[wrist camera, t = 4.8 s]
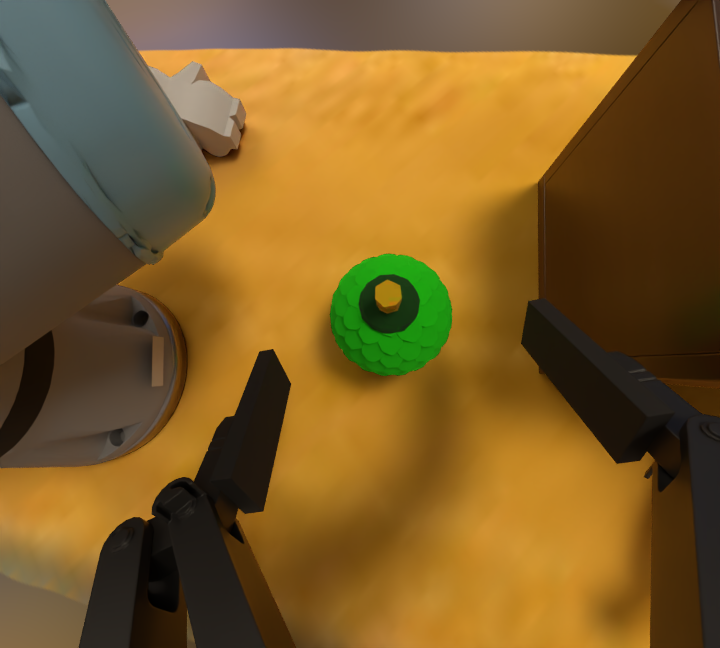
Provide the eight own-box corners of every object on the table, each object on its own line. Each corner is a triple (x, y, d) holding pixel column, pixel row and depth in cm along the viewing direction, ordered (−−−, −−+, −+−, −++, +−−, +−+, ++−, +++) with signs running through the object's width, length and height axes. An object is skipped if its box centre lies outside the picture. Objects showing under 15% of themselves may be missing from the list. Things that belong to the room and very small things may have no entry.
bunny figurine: (213, 151, 23) (38, 124, 23) (239, 189, 28) (96, 166, 28) (238, 53, 24) (72, 29, 25) (259, 106, 29) (121, 86, 30)
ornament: (330, 357, 23) (284, 351, 14) (357, 267, 24) (333, 200, 14) (426, 386, 22) (452, 402, 12) (451, 290, 23) (494, 234, 13)
